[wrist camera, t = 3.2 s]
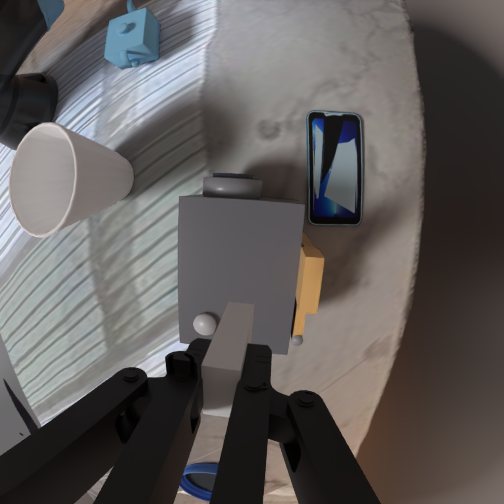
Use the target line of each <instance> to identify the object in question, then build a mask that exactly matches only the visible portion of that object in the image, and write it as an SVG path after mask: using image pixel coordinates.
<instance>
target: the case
mask: <svg viewBox="0 0 504 504" xmlns="http://www.w3.org/2000/svg"><path fill="white" fill-rule="evenodd" d="M261 194H262V181H261V180H253V175H246V174H232V173H213V177H204V179H203V194H200V195H189V196H179V217H178V307H179V333H180V343H185V344H190V343H191V342H192V341H193V340H195V339H196V338H203V339H210V340H212V339H213V337H214V334H215V332H216V330H217V327H218V325H219V323H220V320H221V318H222V316H223V314H224V311H225V309H226V307H227V304H228V302H237V303H247V304H254V313H253V326H252V339H251V344H261V345H268V346H269V347H270V349H271V350H272V354H283V355H287V354H288V347H289V340H290V333H291V326H292V319H293V312H294V304H295V296H296V288H297V280H298V271H299V262H300V253H301V244H302V234H303V223H304V212H305V204H303V203H301V202H299V201H297V200H287V199H275V198H262V197H261Z"/></svg>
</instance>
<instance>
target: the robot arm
mask: <svg viewBox="0 0 504 504" xmlns="http://www.w3.org/2000/svg"><path fill="white" fill-rule="evenodd" d="M64 6H65V5H64V1H63V0H0V143H2V144H4V145H5V146H7V147H9V148H11V149H13V150H17V148H18V145H19V144H20V142H21V141H22V139H23V138H24V137H25V135H26V134H27V133H28V132H29V131H30V130H32V129H33V128H34V127H36V126H38V125H40V124H42V123H46V122H51V121H52V119H53V116H54V113H55V109H56V105H57V98H58V90H57V85H56V82H55V80H54V79H53V78H52V77H51V76H49V75H46V74H43V73H29V74H20V75H15V74H16V73H17V71H18V70H19V68H20V67H21V65H22V64H23V62H24V61H25V59H26V58H27V57H28V55H29V54H30V52H31V51H32V50H33V48H34V47H35V46H36V44H37V43H38V42H39V41H40V39H41V38H42V37H43V36H44V34H45V33H46V32H47V31H49V30H50V28H51V26H52V24H53V23H54V22H55V21H56V20H57V18H58V17H59V16H60V15H61V14H62V12H63V10H64ZM253 313H254V304H247V303H237V302H228V304H227V307H226V309H225V311H224V314H223V316H222V318H221V320H220V323H219V325H218V327H217V330H216V332H215V334H214V337H213V339H212V340H210V339H203V338H196V339H195V340H193V341H192V342H191V343H190V345H189V347H188V349H187V350H186V351H176V352H172V353H169V354H168V355H167V356H166V357H165V361H166V371H167V374H166V376H165V377H147V374H146V373H145V371H143V370H142V369H139V368H136V367H128V368H124V369H122V370H120V371H118V372H117V373H116V374H114V375H113V376H112V377H110V378H109V379H108V380H106V381H105V382H103V383H102V384H101V385H99V386H98V387H97V388H95V389H94V390H92V391H91V392H90V393H88V394H87V395H86V396H84V397H83V398H81V399H80V400H79V401H77V402H76V403H75V404H73V405H72V406H70V407H69V408H68V409H66V410H65V411H63V412H62V413H61V414H59V415H58V416H56V417H55V418H54V419H52V420H51V421H49V422H48V423H47V424H45V425H44V426H42V427H41V428H40V429H38V430H37V431H35V432H34V433H32V434H31V435H30V436H28V437H27V438H25V439H24V440H22V441H21V442H20V443H18V444H17V445H15V446H14V447H12V448H11V449H9V450H8V451H7V452H5V453H4V454H2V455H1V456H0V504H74V503H75V502H76V501H77V500H78V499H80V498H81V497H82V496H83V495H84V494H85V493H86V492H87V491H88V490H89V489H90V488H91V487H92V486H93V485H94V484H95V483H96V482H97V481H98V480H100V479H101V478H102V477H103V476H104V475H105V474H106V473H107V472H108V471H109V470H110V469H111V468H112V467H113V466H114V467H113V469H112V470H111V472H110V474H109V476H108V478H107V479H106V481H105V483H104V485H103V487H102V488H101V490H100V492H99V494H98V496H97V497H96V499H95V501H94V503H93V504H173V503H174V500H175V497H176V494H177V491H178V488H179V485H180V482H181V479H182V476H183V473H184V470H185V467H186V464H187V461H188V458H189V455H190V452H191V449H192V446H193V443H194V440H195V437H196V434H197V431H198V428H199V425H200V421H201V416H200V413H201V410H202V407H203V414H209V415H215V416H222V417H229V422H228V426H227V430H226V435H225V439H224V444H223V448H222V452H221V456H220V461H219V465H218V469H217V474H216V478H215V482H214V486H213V490H212V495H211V499H210V503H209V504H263V495H264V483H265V471H266V457H267V443H268V439H271V440H274V441H277V442H279V445H280V448H281V451H282V454H283V458H284V461H285V464H286V467H287V470H288V473H289V476H290V479H291V482H292V485H293V488H294V491H295V494H296V497H297V500H298V503H299V504H381V503H380V501H379V500H378V498H377V496H376V494H375V492H374V491H373V489H372V487H371V485H370V484H369V482H368V480H367V479H366V477H365V475H364V473H363V471H362V469H361V468H360V466H359V464H358V463H357V461H356V459H355V457H354V455H353V453H352V452H351V450H350V448H349V446H348V444H347V443H346V441H345V439H344V437H343V436H342V434H341V432H340V430H339V428H338V427H337V425H336V423H335V421H334V419H333V417H332V416H331V414H330V412H329V410H328V408H327V407H326V405H325V403H324V401H323V399H322V398H321V397H320V396H319V395H318V394H316V393H314V392H311V391H307V390H300V391H296V392H294V393H292V394H291V395H290V396H288V395H284V394H281V393H279V392H277V391H276V390H275V389H274V388H273V387H272V386H271V382H270V379H271V359H272V350H271V349H270V347H269V346H268V345H261V344H251V339H252V326H253Z"/></svg>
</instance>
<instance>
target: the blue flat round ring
mask: <svg viewBox="0 0 504 504" xmlns="http://www.w3.org/2000/svg"><path fill="white" fill-rule="evenodd" d="M217 469H218V464H211V463H197V464H192V465H189V466H187V467H185V470H184V473H183V476H182V479H181V482H180V485H179V486H180V488H181V489H183V490H184V491H185V492H187V493H188V494H190V495H192V496H194V497H196V498H198V499H201V500H204V501H208V502H210V499H211V495H212V491H210V490H213V486H214V482H215V478H216V474H217ZM204 488H205V489H204ZM207 489H208V490H207Z"/></svg>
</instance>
